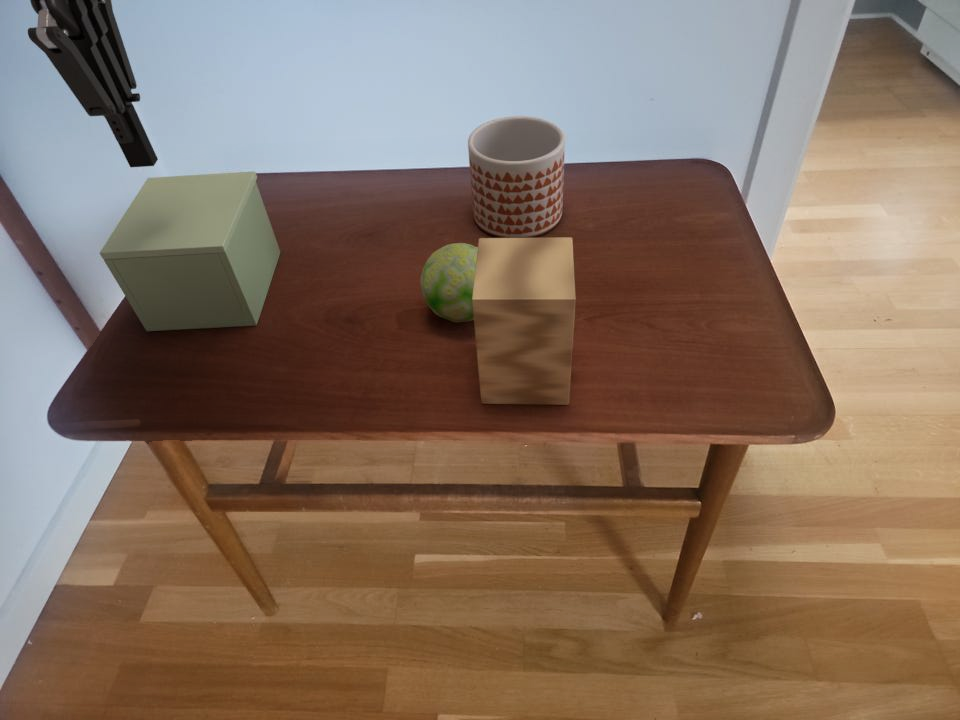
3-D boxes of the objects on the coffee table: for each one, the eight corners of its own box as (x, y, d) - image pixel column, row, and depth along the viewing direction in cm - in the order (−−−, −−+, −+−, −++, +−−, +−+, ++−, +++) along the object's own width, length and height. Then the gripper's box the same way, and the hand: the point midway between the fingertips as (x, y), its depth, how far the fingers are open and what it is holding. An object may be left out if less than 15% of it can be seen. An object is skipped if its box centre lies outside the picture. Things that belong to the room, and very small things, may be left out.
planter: (579, 223, 97) (584, 145, 88) (498, 251, 94) (495, 173, 85) (534, 181, 106) (534, 106, 97) (459, 206, 102) (452, 130, 93)
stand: (481, 403, 74) (471, 299, 63) (486, 342, 81) (478, 237, 70) (568, 405, 73) (575, 299, 62) (566, 342, 80) (572, 236, 69)
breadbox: (182, 257, 97) (148, 188, 89) (280, 252, 97) (255, 181, 88) (146, 331, 86) (103, 260, 78) (256, 325, 86) (225, 253, 77)
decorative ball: (416, 333, 83) (405, 272, 76) (437, 284, 90) (429, 223, 82) (491, 343, 81) (487, 281, 74) (507, 291, 88) (505, 230, 80)
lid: (150, 184, 89) (147, 177, 89) (257, 177, 89) (255, 171, 88) (103, 259, 78) (98, 253, 77) (225, 252, 77) (222, 245, 76)
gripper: (35, -63, 52) (157, 192, 69) (98, -101, 61) (193, 133, 78) (-55, -57, 52) (89, 196, 70) (21, -95, 61) (132, 137, 78)
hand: (144, 163), depth 74 cm, fingers closed
